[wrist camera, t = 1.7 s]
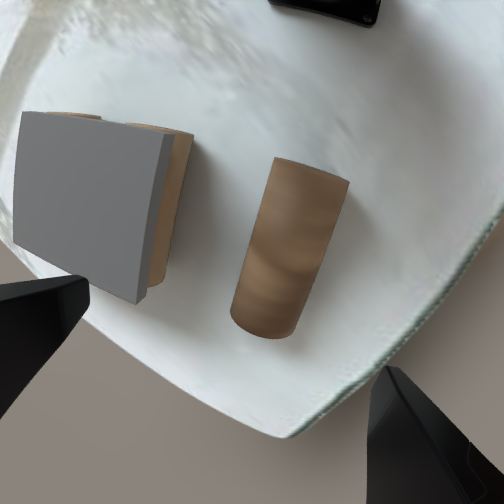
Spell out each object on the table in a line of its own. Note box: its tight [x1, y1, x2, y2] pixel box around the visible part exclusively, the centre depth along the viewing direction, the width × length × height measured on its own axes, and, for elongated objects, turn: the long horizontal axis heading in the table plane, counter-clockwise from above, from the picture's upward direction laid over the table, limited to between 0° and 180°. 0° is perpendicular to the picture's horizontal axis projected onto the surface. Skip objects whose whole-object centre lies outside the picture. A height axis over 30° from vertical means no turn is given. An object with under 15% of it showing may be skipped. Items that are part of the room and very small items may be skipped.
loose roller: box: [230, 157, 350, 339], centre depth 17 cm, size 4×9×4 cm, turn 164°
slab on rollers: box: [13, 111, 194, 305], centre depth 17 cm, size 11×9×5 cm
